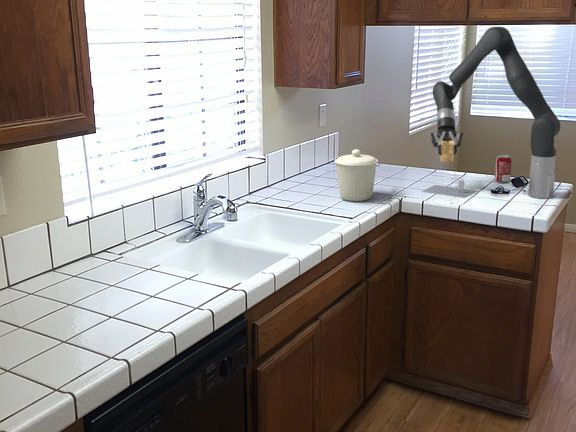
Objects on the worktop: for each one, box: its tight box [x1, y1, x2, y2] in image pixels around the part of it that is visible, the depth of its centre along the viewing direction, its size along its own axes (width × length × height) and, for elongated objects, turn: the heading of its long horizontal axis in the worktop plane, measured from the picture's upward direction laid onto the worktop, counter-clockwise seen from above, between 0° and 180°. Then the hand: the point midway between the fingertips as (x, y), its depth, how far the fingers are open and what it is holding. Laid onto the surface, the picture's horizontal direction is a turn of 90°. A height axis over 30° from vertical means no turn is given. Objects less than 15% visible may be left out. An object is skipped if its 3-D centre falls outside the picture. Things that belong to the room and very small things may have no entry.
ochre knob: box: [439, 141, 455, 163], centre depth 268 cm, size 5×5×8 cm
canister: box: [333, 149, 379, 202], centre depth 267 cm, size 18×18×21 cm
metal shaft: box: [457, 180, 465, 193], centre depth 268 cm, size 2×2×5 cm
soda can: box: [494, 154, 512, 184], centre depth 289 cm, size 7×7×12 cm
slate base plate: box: [421, 184, 479, 199], centre depth 271 cm, size 20×14×2 cm
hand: (447, 154), depth 266 cm, fingers closed on ochre knob, 5 cm apart
